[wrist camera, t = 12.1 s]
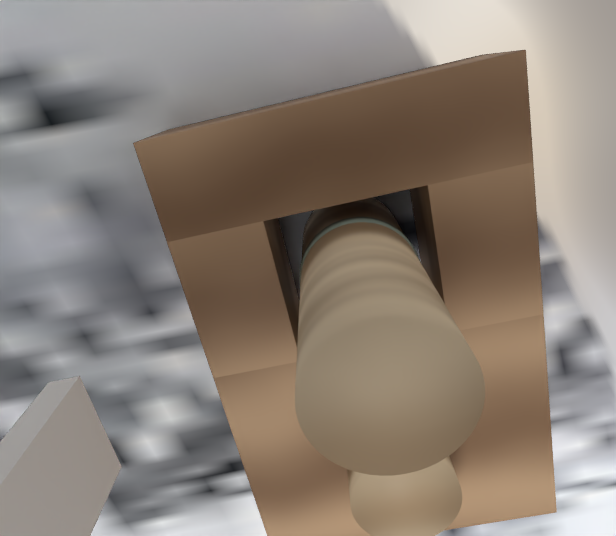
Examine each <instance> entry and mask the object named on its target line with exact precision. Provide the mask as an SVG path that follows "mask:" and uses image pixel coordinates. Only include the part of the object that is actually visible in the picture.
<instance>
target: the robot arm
mask: <svg viewBox="0 0 616 536" xmlns="http://www.w3.org/2000/svg"><path fill="white" fill-rule="evenodd" d="M120 469H121V465H120V462H119V460H118V458H117V456H116V454H115V452H114V449H113V447H112V445H111V443H110V441H109V439H108V436H107V434H106V432H105V430H104V428H103V426H102V423H101V421H100V419H99V417H98V415H97V413H96V411H95V408H94V406H93V404H92V402H91V400H90V398H89V395H88V393H87V391H86V389H85V387H84V385H83V382H82V380H81V378H80V376H77V377H72V378H67V379H62V380H57V381H53V382H48V384H47V385H46V386H45V387H44V389H43V390H42V391H41V392H40V394H39V395H38V396H37V397H36V398H35V400H34V401H33V402H32V403H31V405H30V406H29V407H28V408H27V410H26V411H25V412H24V413H23V414H22V416H21V417H20V418H19V419H18V421H17V422H16V423H15V424H14V426H13V427H12V428H11V429H10V431H9V432H8V433H7V434H6V435H5V437H4V438H3V439H2V440H1V442H0V536H90V535H91V533H92V531H93V528H94V526H95V524H96V522H97V520H98V517H99V515H100V513H101V511H102V509H103V506H104V504H105V502H106V500H107V498H108V495H109V493H110V491H111V489H112V487H113V484H114V482H115V480H116V478H117V476H118V473H119V471H120Z"/></svg>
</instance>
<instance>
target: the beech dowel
mask: <svg viewBox="0 0 616 536" xmlns="http://www.w3.org/2000/svg"><path fill="white" fill-rule="evenodd" d="M299 282H300V304H299V323H298V343H297V362H296V382H295V410H296V415H297V419H298V422H299V425H300V427H301V429H302V431H303V433H304V435H305V437H306V438H307V439H308V441H309V442H310V443H311V445H312V446H313V447H314V448H315V449H316V450H317V451H318V452H319V453H321V454H322V455H323V456H324V457H326V458H327V459H328V460H330V461H332V462H334V463H335V464H337V465H339V466H341V467H344V468H346V469H348V470H352V471H355V472H358V473H363V474H368V475H379V476H393V475H401V474H407V473H411V472H416V471H419V470H422V469H425V468H427V467H430V466H432V465H434V464H436V463H438V462H440V461H441V460H443V459H445V458H446V457H448V456H449V455H451V454H452V453H453V452H455V451H456V450H457V449H458V448H459V447H460V446H461V445H462V444H463V443H464V442H465V441H466V440H467V438H468V437H469V436H470V435H471V433H472V432H473V430H474V429H475V427H476V425H477V423H478V421H479V419H480V416H481V414H482V410H483V406H484V400H485V382H484V377H483V373H482V370H481V367H480V365H479V362H478V361H477V359H476V357H475V355H474V354H473V352H472V350H471V348H470V347H469V345H468V343H467V342H466V340H465V338H464V336H463V335H462V333H461V331H460V330H459V328H458V326H457V324H456V323H455V321H454V319H453V318H452V316H451V314H450V312H449V311H448V309H447V307H446V305H445V304H444V302H443V300H442V299H441V297H440V295H439V293H438V292H437V290H436V288H435V287H434V285H433V283H432V281H431V280H430V278H429V276H428V275H427V273H426V271H425V269H424V268H423V266H422V264H421V263H420V260H419V258H418V255H417V253H416V251H415V249H414V247H413V246H412V244H411V242H410V241H409V240H408V238H407V237H406V236H405V235H404V233H403V232H402V230H401V228H400V226H399V225H398V223H397V221H396V220H395V218H394V216H393V214H392V213H391V212H390V210H389V209H388V208H387V207H386V206H385V205H384V204H383V203H381V202H380V201H378V200H377V199H375V198H373V197H371V198H367V199H362V200H358V201H353V202H349V203H344V204H339V205H335V206H330V207H326V208H321V209H317V210H314V211H313V213H312V214H311V215H310V217H309V219H308V221H307V223H306V225H305V229H304V233H303V245H302V260H301V264H300V275H299Z"/></svg>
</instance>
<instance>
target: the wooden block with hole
mask: <svg viewBox="0 0 616 536" xmlns="http://www.w3.org/2000/svg"><path fill="white" fill-rule="evenodd" d="M133 144H134V147H135V150H136V153H137V156H138V159H139V162H140V165H141V168H142V171H143V174H144V177H145V179H146V182H147V185H148V188H149V191H150V194H151V197H152V200H153V203H154V206H155V209H156V212H157V214H158V217H159V220H160V223H161V226H162V229H163V232H164V235H165V238H166V241H167V244H168V247H169V250H170V252H171V255H172V258H173V261H174V264H175V267H176V270H177V273H178V276H179V279H180V282H181V285H182V287H183V290H184V293H185V296H186V299H187V302H188V305H189V308H190V311H191V314H192V317H193V320H194V323H195V325H196V328H197V331H198V334H199V337H200V340H201V343H202V346H203V349H204V352H205V355H206V358H207V361H208V363H209V366H210V369H211V372H212V375H213V378H214V381H215V384H216V387H217V390H218V393H219V396H220V398H221V401H222V404H223V407H224V410H225V413H226V416H227V419H228V422H229V425H230V428H231V431H232V434H233V436H234V439H235V442H236V445H237V448H238V451H239V454H240V457H241V460H242V463H243V466H244V469H245V471H246V474H247V477H248V480H249V483H250V486H251V489H252V492H253V495H254V498H255V501H256V504H257V507H258V509H259V512H260V515H261V518H262V521H263V524H264V527H265V530H266V533H267V536H435V535H437V534H439V533H440V532H442V531H443V530H449V529H455V528H461V527H468V526H474V525H480V524H486V523H492V522H499V521H505V520H511V519H517V518H524V517H530V516H536V515H542V514H549V513H555V512H556V497H555V482H554V467H553V452H552V437H551V422H550V407H549V392H548V377H547V362H546V347H545V332H544V317H543V302H542V287H541V272H540V257H539V242H538V227H537V212H536V197H535V184H534V183H535V182H534V168H533V152H532V137H531V122H530V107H529V93H528V77H527V62H526V50H520V51H511V52H503V53H493V54H485V55H479V56H475V57H471V58H466V59H463V60H458V61H454V62H450V63H446V64H442V65H437V66H433V67H429V68H425V69H420V70H416V71H412V72H408V73H404V74H399V75H395V76H391V77H387V78H383V79H379V80H374V81H370V82H366V83H362V84H358V85H353V86H349V87H345V88H341V89H337V90H332V91H328V92H324V93H320V94H316V95H312V96H307V97H303V98H299V99H295V100H291V101H286V102H282V103H278V104H274V105H270V106H265V107H261V108H257V109H253V110H249V111H245V112H240V113H236V114H232V115H228V116H224V117H219V118H215V119H211V120H207V121H203V122H198V123H194V124H190V125H186V126H182V127H178V128H173V129H169V130H166V131H163V132H161V133H158V134H156V135H153V136H150V137H148V138H145V139H143V140H140V141H137V142H135V143H133ZM408 189H410V194H411V201H412V207H413V213H414V220H415V226H416V233H417V239H418V245H419V252H420V258H421V264H422V266H423V268H424V269H425V271H426V273H427V275H428V276H429V278H430V280H431V281H432V283H433V285H434V287H435V288H436V290H437V292H438V293H439V295H440V297H441V299H442V300H443V302H444V304H445V305H446V307H447V309H448V311H449V312H450V314H451V316H452V318H453V319H454V321H455V323H456V324H457V326H458V328H459V330H460V331H461V333H462V335H463V336H464V338H465V340H466V342H467V343H468V345H469V347H470V348H471V350H472V352H473V354H474V355H475V357H476V359H477V361H478V362H479V365H480V367H481V370H482V373H483V377H484V382H485V400H484V406H483V410H482V414H481V416H480V419H479V421H478V423H477V425H476V427H475V429H474V430H473V432H472V433H471V435H470V436H469V437H468V438H467V440H466V441H465V442H464V443H463V444H462V445H461V446H460V447H459V448H458V449H457V450H456V451H455V452H453V453H452V454H451V455H449V456H448V457H446V458H445V459H443V460H441V461H440V462H438V463H436V464H434V465H432V466H430V467H427V468H425V469H422V470H419V471H416V472H411V473H407V474H401V475H393V476H379V475H368V474H363V473H358V472H355V471H352V470H348V469H346V468H344V467H341V466H339V465H337V464H335V463H334V462H332V461H330V460H328V459H327V458H326V457H324V456H323V455H322V454H321V453H319V452H318V451H317V450H316V449H315V448H314V447H313V446H312V445H311V443H310V442H309V441H308V439H307V438H306V437H305V435H304V433H303V431H302V429H301V427H300V425H299V422H298V419H297V415H296V410H295V382H296V362H297V343H298V323H299V304H300V301H299V297H298V294H297V290H296V286H295V282H294V278H293V274H292V270H291V266H290V262H289V258H288V254H287V250H286V247H285V243H284V239H283V235H282V231H281V227H280V223H279V219H278V218H280V217H285V216H289V215H294V214H298V213H303V212H308V211H312V210H317V209H321V208H326V207H330V206H335V205H339V204H344V203H349V202H353V201H358V200H362V199H367V198H371V197H376V196H381V195H385V194H390V193H394V192H399V191H403V190H408Z"/></svg>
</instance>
